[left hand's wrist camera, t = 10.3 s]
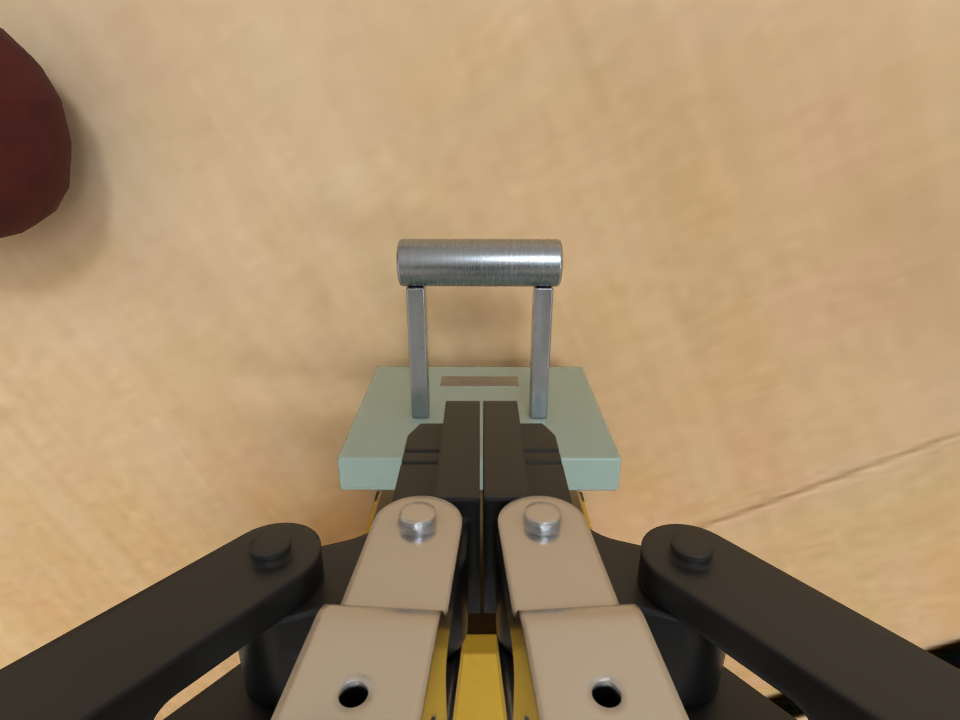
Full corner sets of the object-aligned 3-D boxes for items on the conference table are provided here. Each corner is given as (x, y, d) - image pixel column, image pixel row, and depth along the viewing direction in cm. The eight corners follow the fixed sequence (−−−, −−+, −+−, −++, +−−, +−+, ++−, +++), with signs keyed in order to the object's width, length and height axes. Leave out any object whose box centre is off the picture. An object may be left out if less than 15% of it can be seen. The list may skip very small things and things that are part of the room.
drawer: (366, 218, 23) (315, 258, 16) (592, 219, 23) (643, 258, 16) (396, 655, 31) (371, 808, 24) (561, 655, 31) (585, 809, 24)
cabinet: (376, 491, 28) (329, 654, 19) (581, 492, 28) (628, 655, 19) (395, 744, 35) (366, 952, 26) (562, 744, 35) (590, 952, 26)
